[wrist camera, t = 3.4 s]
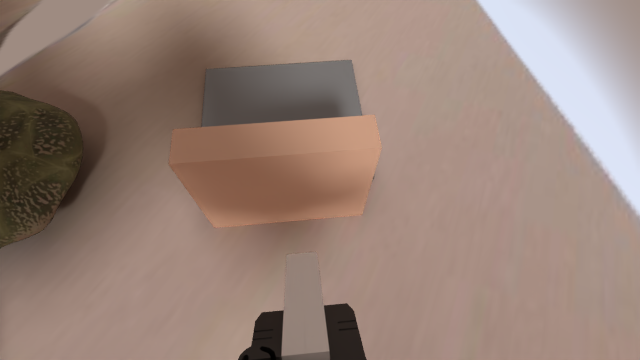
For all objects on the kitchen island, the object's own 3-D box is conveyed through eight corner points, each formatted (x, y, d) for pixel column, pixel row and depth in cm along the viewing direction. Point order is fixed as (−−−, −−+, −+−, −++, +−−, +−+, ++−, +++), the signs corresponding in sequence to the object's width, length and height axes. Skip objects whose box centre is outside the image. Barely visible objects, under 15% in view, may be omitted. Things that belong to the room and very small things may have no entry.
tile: (362, 215, 29) (381, 147, 20) (214, 228, 28) (168, 164, 20) (357, 188, 30) (374, 114, 21) (215, 200, 29) (173, 128, 21)
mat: (373, 179, 30) (374, 176, 30) (198, 193, 30) (196, 191, 29) (351, 62, 37) (351, 59, 37) (207, 72, 36) (206, 69, 36)
